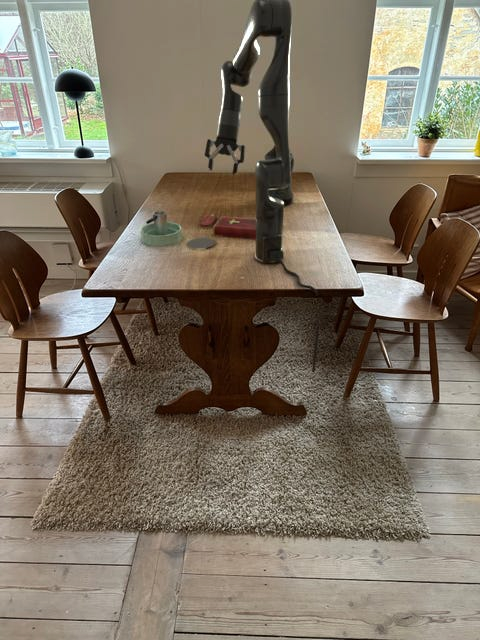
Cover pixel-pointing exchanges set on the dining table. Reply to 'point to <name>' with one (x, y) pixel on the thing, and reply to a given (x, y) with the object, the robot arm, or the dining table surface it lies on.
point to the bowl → (163, 240)
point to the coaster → (201, 243)
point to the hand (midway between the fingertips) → (222, 172)
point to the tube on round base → (159, 223)
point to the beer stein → (281, 194)
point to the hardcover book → (235, 227)
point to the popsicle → (208, 220)
